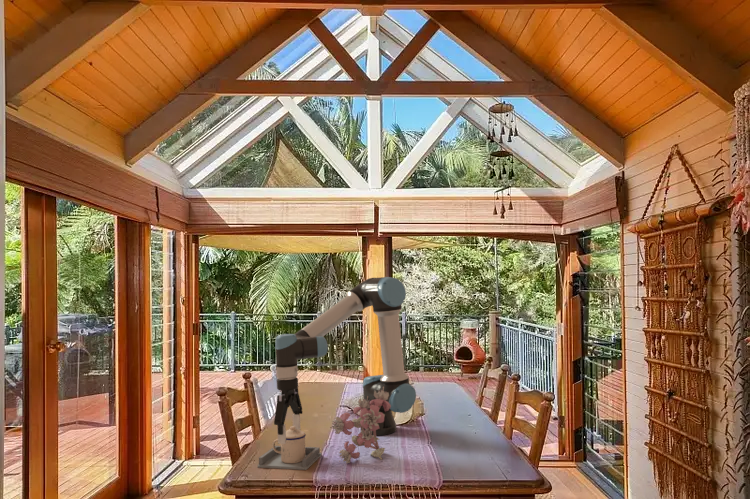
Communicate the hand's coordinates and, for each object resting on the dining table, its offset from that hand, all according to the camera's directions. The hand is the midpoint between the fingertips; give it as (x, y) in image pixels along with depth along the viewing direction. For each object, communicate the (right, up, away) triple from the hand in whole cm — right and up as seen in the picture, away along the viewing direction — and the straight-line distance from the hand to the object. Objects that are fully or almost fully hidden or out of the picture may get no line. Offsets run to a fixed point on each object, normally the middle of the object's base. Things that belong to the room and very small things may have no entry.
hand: (289, 437), depth 201 cm
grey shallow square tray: (0, -9, 0) cm, 9 cm away
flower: (+26, -8, -1) cm, 27 cm away
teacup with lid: (0, -8, -1) cm, 8 cm away
